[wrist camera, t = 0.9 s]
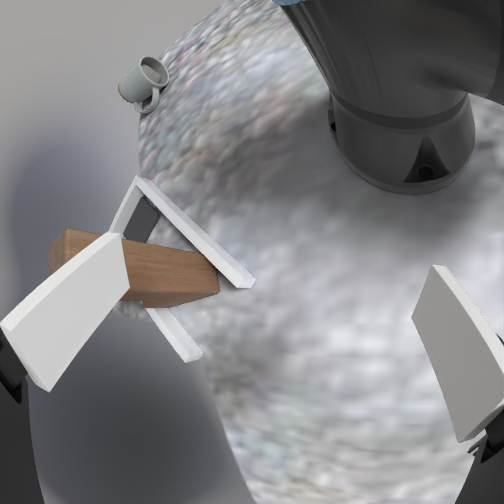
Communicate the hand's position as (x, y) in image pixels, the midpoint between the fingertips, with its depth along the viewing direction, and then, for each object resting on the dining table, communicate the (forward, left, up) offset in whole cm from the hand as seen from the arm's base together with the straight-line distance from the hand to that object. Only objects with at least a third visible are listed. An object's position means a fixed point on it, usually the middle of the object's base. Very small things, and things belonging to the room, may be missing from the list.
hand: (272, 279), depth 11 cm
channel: (+11, -20, -15) cm, 28 cm away
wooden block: (+11, -15, -16) cm, 24 cm away
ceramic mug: (-8, -48, -16) cm, 51 cm away
